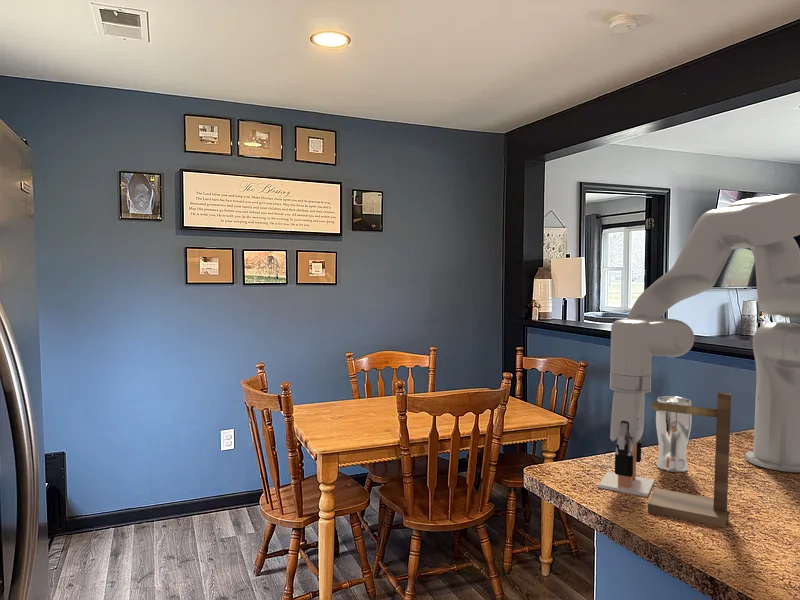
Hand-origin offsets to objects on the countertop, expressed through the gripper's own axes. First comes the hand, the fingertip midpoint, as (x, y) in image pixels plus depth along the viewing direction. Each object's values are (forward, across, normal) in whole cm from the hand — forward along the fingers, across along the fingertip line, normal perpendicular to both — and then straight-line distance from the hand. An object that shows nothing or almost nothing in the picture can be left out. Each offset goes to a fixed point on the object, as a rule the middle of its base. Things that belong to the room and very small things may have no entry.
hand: (628, 467), depth 115 cm
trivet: (+3, 0, 0) cm, 3 cm away
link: (+3, 0, 0) cm, 3 cm away
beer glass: (+4, -16, +6) cm, 18 cm away
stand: (+4, +8, +11) cm, 14 cm away
